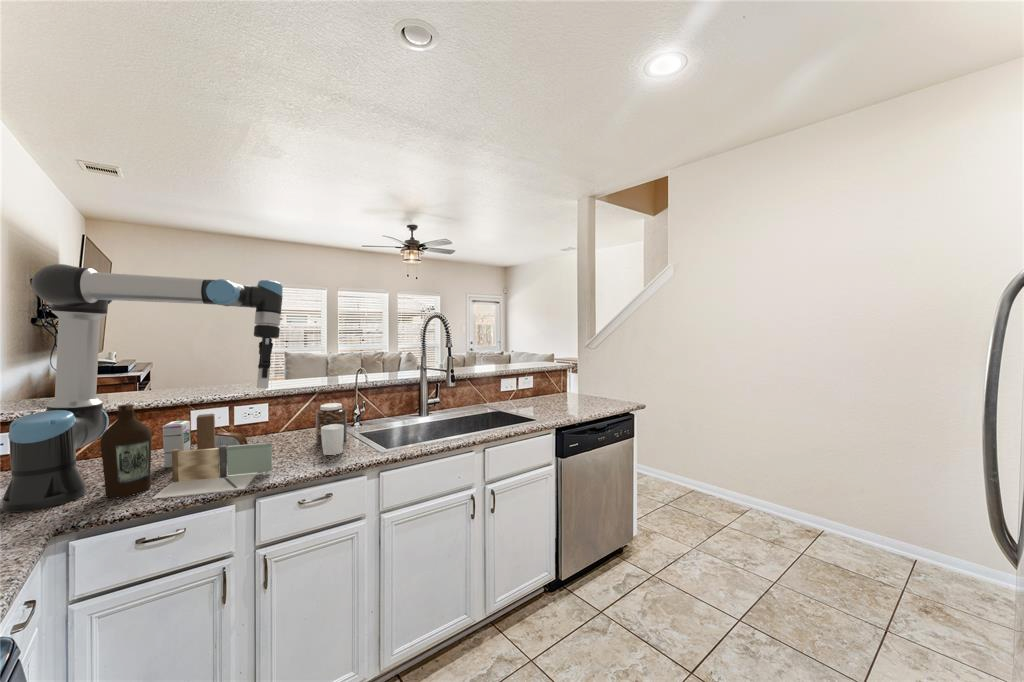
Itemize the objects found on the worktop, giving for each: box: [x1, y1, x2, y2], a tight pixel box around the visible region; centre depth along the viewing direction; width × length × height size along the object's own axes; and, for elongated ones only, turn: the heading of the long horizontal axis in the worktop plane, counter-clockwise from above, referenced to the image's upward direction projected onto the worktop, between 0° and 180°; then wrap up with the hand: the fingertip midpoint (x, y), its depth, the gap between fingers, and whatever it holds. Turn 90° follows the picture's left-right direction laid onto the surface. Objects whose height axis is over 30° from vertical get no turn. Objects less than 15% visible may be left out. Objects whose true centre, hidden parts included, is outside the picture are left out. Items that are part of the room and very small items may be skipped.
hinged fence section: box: [226, 442, 273, 475], centre depth 130 cm, size 12×1×9 cm, turn 108°
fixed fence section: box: [171, 445, 228, 482], centre depth 126 cm, size 14×2×10 cm, turn 108°
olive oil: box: [100, 403, 153, 499], centre depth 117 cm, size 11×11×25 cm
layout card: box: [151, 473, 258, 500], centre depth 122 cm, size 22×14×1 cm, turn 108°
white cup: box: [321, 424, 344, 456], centre depth 152 cm, size 8×8×10 cm
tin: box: [215, 430, 248, 457], centre depth 149 cm, size 15×3×8 cm, turn 76°
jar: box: [315, 402, 348, 446], centre depth 168 cm, size 12×12×15 cm
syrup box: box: [162, 420, 192, 468], centre depth 140 cm, size 6×6×14 cm
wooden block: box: [196, 413, 216, 450], centre depth 134 cm, size 9×4×18 cm, turn 123°
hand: (262, 388), depth 138 cm, fingers open, 13 cm apart
